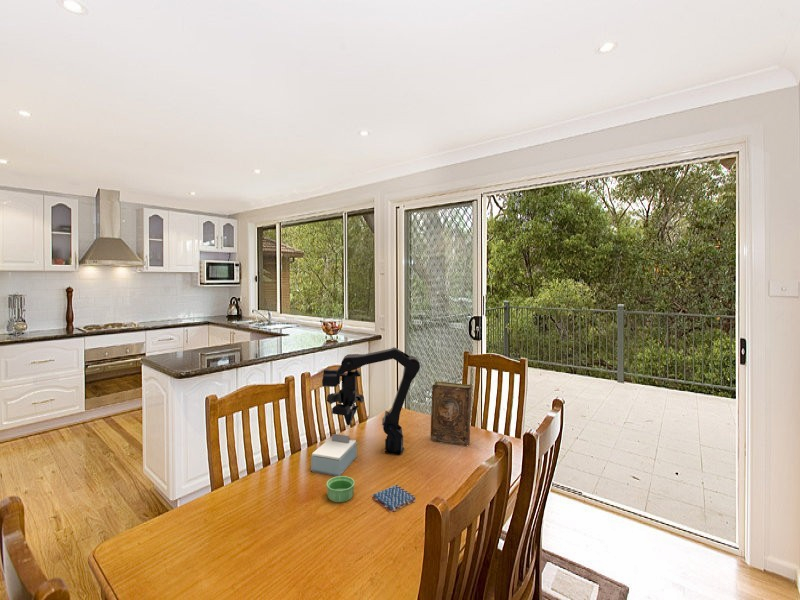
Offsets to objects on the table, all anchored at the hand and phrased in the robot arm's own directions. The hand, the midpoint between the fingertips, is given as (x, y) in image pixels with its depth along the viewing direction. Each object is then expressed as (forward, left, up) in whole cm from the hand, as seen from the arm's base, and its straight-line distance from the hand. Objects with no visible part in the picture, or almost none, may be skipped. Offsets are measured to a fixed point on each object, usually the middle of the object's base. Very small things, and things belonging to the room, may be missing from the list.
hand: (348, 424), depth 161 cm
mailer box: (0, +12, -11) cm, 16 cm away
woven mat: (-28, +28, -11) cm, 41 cm away
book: (-38, -23, -11) cm, 46 cm away
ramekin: (-11, +31, -11) cm, 35 cm away
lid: (0, +12, -5) cm, 13 cm away
